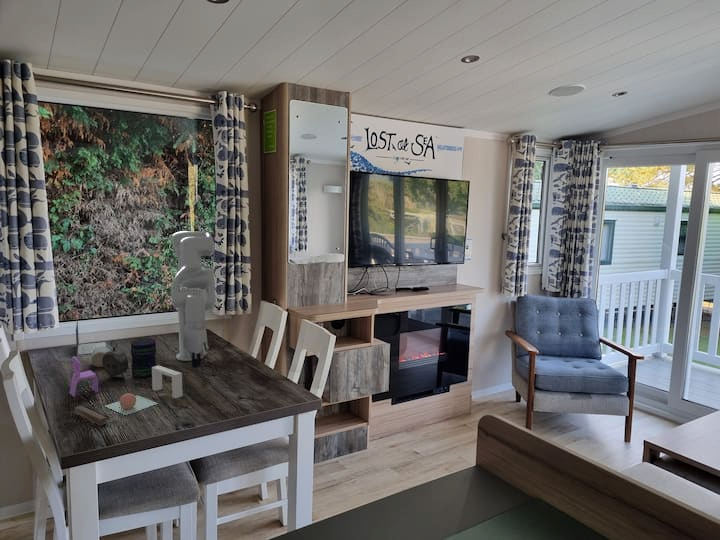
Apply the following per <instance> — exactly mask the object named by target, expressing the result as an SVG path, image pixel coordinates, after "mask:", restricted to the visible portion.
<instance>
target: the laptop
mask: <svg viewBox="0 0 720 540" xmlns="http://www.w3.org/2000/svg"><path fill="white" fill-rule="evenodd" d="M79 340H80V338H79V322H78V321H77V320H76V325H75V343H76V355H77V356H84V355H85V354H86V355H92V353H93V351H94V350H95V349H96V348H97V347H101V346H104V347H107V345H106V344H107V342H106V341H103V342H93V343H92V342H91V343H81V344H80V343H79ZM78 353H79V354H78Z"/></svg>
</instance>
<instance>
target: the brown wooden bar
mask: <svg viewBox="0 0 720 540" xmlns="http://www.w3.org/2000/svg"><path fill="white" fill-rule="evenodd" d="M74 414H75V415H76V414H77V415H76V416H78V415H80V416H81V417H80V416H79V417H80V418H82V417H84V418H86V419H88V420H90V421H92V422H94V423H96V424H99V425H104V424H106V425H107V417H106V416H104V415H102V414H100V413H97V412H96V411H93V410H91V409H89V408H86V407H85V406H82V405H79V406H75V407H74ZM84 418H83V419H84ZM86 419H85V420H86ZM88 420H87V421H88ZM90 421H89V422H90ZM92 422H91V423H92ZM94 423H93V424H94ZM96 424H95V425H96ZM104 426H105V425H104Z"/></svg>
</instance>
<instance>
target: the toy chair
mask: <svg viewBox="0 0 720 540" xmlns="http://www.w3.org/2000/svg"><path fill="white" fill-rule="evenodd" d="M72 368H73V372H74V373H73V374H72V377H71V380H70V382H71V384H70V389H69V392H68V394H69V393H70V394H71V395H72V396H73V397H75V398H76V389H77V385H78V382H80V381H82V380H86V379H92V385H91V388H92V389H91V388H90V389H91V390H92V391H94V392H95V391H96V392H98V391H99V388H98V387H99V378H98V377H97V374H96V373H95V372H93V371H92V370H90V369H89V370H86V371H83V367H82V363H81V361H80V360H79V359H78V357H76V356H72ZM81 371H82V372H81ZM96 392H95V393H96ZM70 394H69V395H70ZM71 395H70V396H71ZM72 396H71V397H72ZM73 397H72V398H73Z"/></svg>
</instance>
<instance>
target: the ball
mask: <svg viewBox="0 0 720 540" xmlns="http://www.w3.org/2000/svg"><path fill="white" fill-rule="evenodd" d="M135 396H136V395H135V394H133V393H125V394H123V395H121V397H120V399H119V401H120V406H121V407H122V408H124V409H130V408H132V407H134V406H135V404H136V397H135Z"/></svg>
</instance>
